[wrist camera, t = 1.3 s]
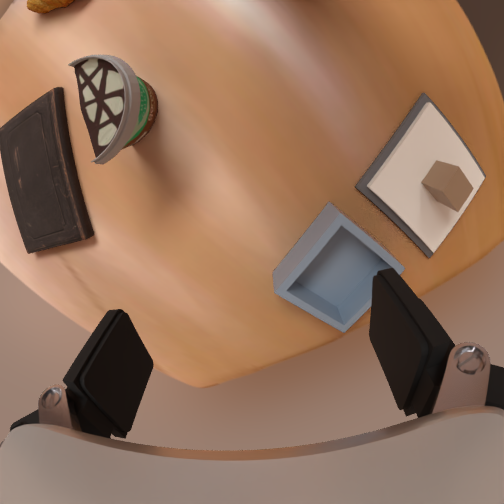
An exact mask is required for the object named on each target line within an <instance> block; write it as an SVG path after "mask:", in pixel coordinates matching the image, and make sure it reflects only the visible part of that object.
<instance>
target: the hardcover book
mask: <svg viewBox="0 0 504 504" xmlns="http://www.w3.org/2000/svg"><path fill="white" fill-rule="evenodd" d="M0 151H1V158H2V164H3V169H4V174H5V179H6V184H7V188H8V192H9V196H10V200H11V204H12V207H13V211H14V214H15V218H16V221H17V224H18V227H19V230H20V233H21V236H22V239H23V242H24V245H25V248H26V250H27V253H28V254H30V253H34V252H37V251H41V250H45V249H49V248H53V247H57V246H61V245H65V244H69V243H73V242H77V241H81V240H86V239H88V238H90V237H91V236H93V235H94V232H93V229H92V225H91V222H90V219H89V216H88V212H87V209H86V206H85V202H84V199H83V195H82V191H81V187H80V183H79V179H78V175H77V171H76V167H75V162H74V157H73V153H72V148H71V142H70V137H69V131H68V124H67V118H66V110H65V102H64V92H63V88H62V87H56V88H54V89H52V90H50V91H49V92H47V93H46V94H44V95H43V96H41V97H40V98H38V99H37V100H36V101H34V102H33V103H31V104H30V105H29V106H27V107H26V108H25V109H23V110H22V111H21V112H19V113H18V114H17V115H16V116H14V117H13V118H12V119H11V120H9V121H8V122H7V123H6V124H5V125H3V126H2V127H1V128H0Z"/></svg>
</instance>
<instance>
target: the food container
mask: <svg viewBox="0 0 504 504" xmlns="http://www.w3.org/2000/svg"><path fill="white" fill-rule="evenodd" d="M68 65H69V66H72V67H74V68H75V74H76V78H77V83H78V89H79V99H80V106H81V111H82V114H83V117H84V120H85V123H86V126H87V129H88V132H89V135H90V139H91V142H92V146H93V149H94V153H95V156H96V158H95V159H94V160H92V161H91V162H95V164H105V163H106V162H108V161H110V160H111V159H112V158H113V157H114V156H116V155H117V154H118V153H119V152H120V150H122V149H124V148H126V147H129V146H131V145H133V144H135V143H137V142H139V141H140V140H141V139H142V138H143V137H144V136H145V135H146V134H147V133H148V132H149V130H150V129H151V127H152V126H153V124H154V122H155V119H156V115H157V112H158V101H157V96H156V94H155V91H154V90H153V88H152V87H151V86H150V85H149V84H148V83H147V82H145V81H144V80H142V79H141V78H139V77H137V76H136V75H135V73H134V71H133V70H132V68H131V67H130V66H129V65H128V64H127V63H126V62H125V61H123V60H122V59H120V58H117V57H115V56H110V55H90V56H86V57H83V58H80V59H77V60H75V61H73V62H72V63H70V64H68Z"/></svg>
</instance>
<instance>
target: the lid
mask: <svg viewBox="0 0 504 504" xmlns="http://www.w3.org/2000/svg"><path fill="white" fill-rule="evenodd" d="M484 179H485V177H484V176H483V174H482V172H481V171H480V169H479V167H478V166H477V164H476V163H475V161H474V159H473V158H472V156H471V155H470V153H469V152H468V150H467V149H466V148H465V146H464V145H463V143H462V142H461V140H460V139H459V138H458V136H457V135H456V134H455V132H454V131H453V130H452V128H451V127H450V126H449V124H448V123H447V122H446V121H445V119H444V118H443V117H442V116H441V114H440V113H439V112H438V111H437V110H436V108H435V107H434V106H433V105H432V104H431V103H430V102H428V103H426V104H425V105H424V107H423V108H422V110H421V111H420V113H419V114H418V116H417V117H416V118H415V120H414V121H413V123H412V124H411V126H410V127H409V129H408V130H407V131H406V133H405V134H404V136H403V137H402V139H401V140H400V141H399V143H398V144H397V146H396V147H395V148H394V150H393V151H392V152H391V154H390V155H389V157H388V158H387V159H386V161H385V162H384V163H383V165H382V166H381V167H380V169H379V170H378V172H377V173H376V174H375V176H374V177H373V178H372V180H371V181H370V182H369V183H368V185H367V187H368V188H369V189H370V190H371V191H372V192H373V193H375V194H376V195H377V196H378V197H379V198H380V199H381V200H382V201H383V202H384V203H385V204H386V205H387V206H388V207H389V208H390V209H392V210H393V211H394V212H395V213H396V214H397V215H398V216H399V217H400V218H401V219H402V220H403V221H404V222H405V223H406V224H407V225H408V226H409V227H410V229H411V230H412V231H413V232H414V233H415V234H416V235H417V236H418V237H419V238H420V239H421V240H422V241H423V242H424V243H425V245H426V246H427V247H428V248H429V249H430V250H431V251H432V252H433V253H434V252H435V251H436V249H437V248H438V247H439V245H440V244H441V243H442V241H443V240H444V239H445V237H446V236H447V235H448V233H449V232H450V231H451V229H452V228H453V226H454V225H455V224H456V222H457V221H458V219H459V218H460V216H461V215H462V214H463V212H464V211H465V209H466V208H467V206H468V205H469V203H470V201H471V200H472V198H473V197H474V195H475V194H476V192H477V190H478V189H479V187H480V185H481V184H482V182H483V180H484Z"/></svg>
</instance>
